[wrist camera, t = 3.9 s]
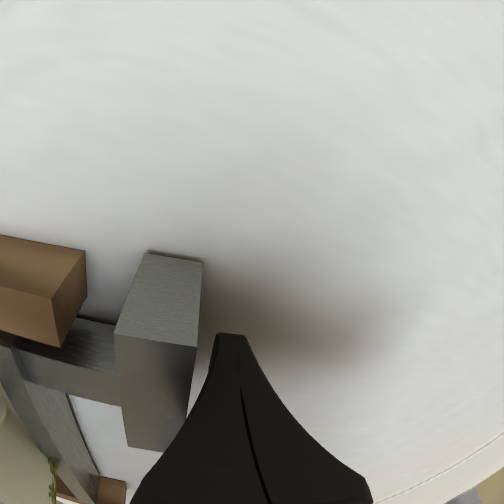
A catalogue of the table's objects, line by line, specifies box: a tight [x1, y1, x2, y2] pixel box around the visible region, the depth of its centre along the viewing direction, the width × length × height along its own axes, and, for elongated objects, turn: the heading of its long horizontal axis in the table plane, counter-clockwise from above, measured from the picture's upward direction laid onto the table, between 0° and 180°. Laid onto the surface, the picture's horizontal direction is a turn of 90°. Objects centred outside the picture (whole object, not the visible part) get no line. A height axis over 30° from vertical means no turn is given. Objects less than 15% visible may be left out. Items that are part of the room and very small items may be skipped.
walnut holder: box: [0, 235, 127, 504], centre depth 13 cm, size 25×11×3 cm, turn 167°
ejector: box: [0, 253, 203, 504], centre depth 13 cm, size 23×8×4 cm, turn 167°
